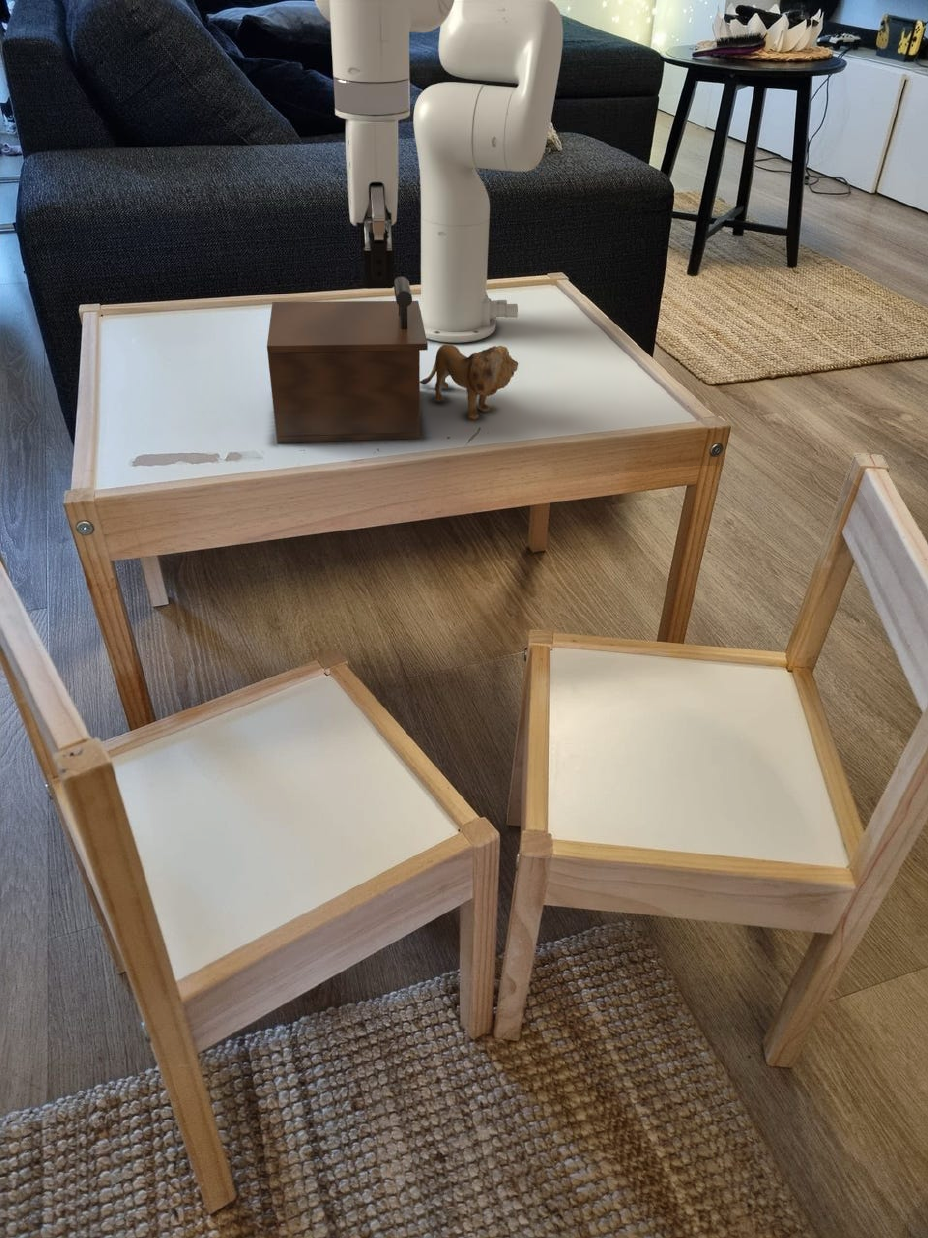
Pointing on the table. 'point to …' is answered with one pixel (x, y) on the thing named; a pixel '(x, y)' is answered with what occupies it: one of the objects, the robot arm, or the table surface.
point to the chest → (345, 395)
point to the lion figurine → (473, 373)
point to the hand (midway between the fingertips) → (377, 272)
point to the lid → (348, 325)
